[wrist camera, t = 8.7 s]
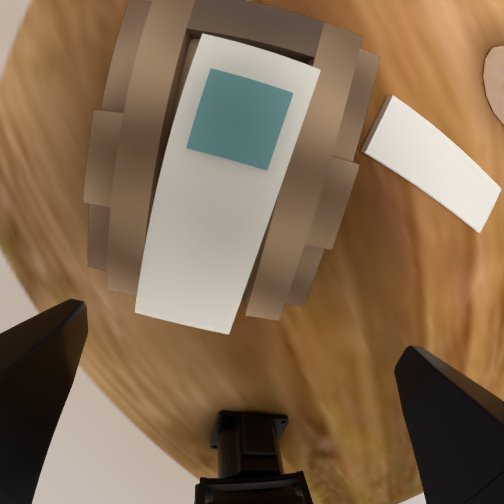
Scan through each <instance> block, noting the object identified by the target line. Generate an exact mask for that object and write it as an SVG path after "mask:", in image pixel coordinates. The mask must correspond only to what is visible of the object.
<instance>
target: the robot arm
mask: <svg viewBox="0 0 504 504" xmlns="http://www.w3.org/2000/svg"><path fill="white" fill-rule="evenodd" d="M87 334H88V320H87V307H86V303H85V302H84V301H80V300H76V299H68V300H66V301H64V302H62V303H60V304H58V305H56V306H54V307H52V308H50V309H48V310H46V311H44V312H42V313H40V314H38V315H36V316H34V317H32V318H30V319H28V320H26V321H24V322H22V323H20V324H18V325H16V326H14V327H12V328H10V329H8V330H7V331H4V332H2V333H1V334H0V504H32V501H33V497H34V494H35V489H36V487H37V483H38V480H39V476H40V473H41V470H42V467H43V464H44V460H45V457H46V454H47V451H48V448H49V446H50V443H51V440H52V437H53V434H54V431H55V428H56V426H57V423H58V420H59V418H60V415H61V413H62V410H63V407H64V405H65V402H66V400H67V397H68V394H69V392H70V389H71V387H72V384H73V381H74V378H75V374H76V371H77V367H78V364H79V361H80V357H81V354H82V351H83V347H84V344H85V341H86V338H87ZM394 373H395V378H396V382H397V387H398V392H399V396H400V401H401V406H402V411H403V415H404V419H405V422H406V426H407V429H408V433H409V436H410V440H411V443H412V447H413V451H414V454H415V458H416V462H417V466H418V470H419V474H420V478H421V482H422V486H423V491H424V495H425V499H426V504H504V401H502V400H501V399H500V398H498V397H497V396H495V395H494V394H492V393H491V392H489V391H488V390H486V389H485V388H483V387H481V386H480V385H478V384H477V383H475V382H474V381H472V380H471V379H469V378H468V377H466V376H465V375H463V374H462V373H460V372H459V371H457V370H456V369H454V368H453V367H451V366H450V365H448V364H447V363H445V362H443V361H442V360H440V359H439V358H437V357H436V356H434V355H433V354H431V353H430V352H428V351H427V350H425V349H424V348H422V347H420V346H408V347H407V348H406V349H405V351H404V352H403V354H402V356H401V357H400V359H399V361H398V362H397V364H396V366H395V370H394ZM288 422H289V420H288V417H287V416H276V415H260V414H246V413H235V412H225V411H223V412H220V413H219V414H218V417H217V421H216V424H215V428H214V431H213V434H212V438H211V441H210V448H212V449H218V478H207V477H200V483H199V484H197V485H196V486H195V502H194V504H313V502H312V499H311V495H310V492H309V489H308V486H307V483H306V480H305V476H304V473H303V471H298V472H296V473H290V474H284V471H283V465H282V459H281V453H280V446H279V438H280V436H281V435H282V433H283V431H284V429H285V428H286V426H287V424H288Z"/></svg>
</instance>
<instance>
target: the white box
mask: <svg viewBox="0 0 504 504" xmlns="http://www.w3.org/2000/svg"><path fill="white" fill-rule="evenodd" d="M320 71H321V70H320V69H317V68H315V67H312V66H310V65H307V64H304V63H302V62H299V61H296V60H293V59H290V58H288V57H285V56H282V55H279V54H276V53H273V52H270V51H266V50H263V49H260V48H257V47H253V46H250V45H246V44H243V43H239V42H236V41H232V40H228V39H224V38H220V37H216V36H211V35H207V34H203V33H202V36H201V39H200V41H199V44H198V47H197V50H196V53H195V55H194V58H193V61H192V64H191V67H190V70H189V73H188V76H187V79H186V82H185V85H184V89H183V92H182V95H181V98H180V102H179V105H178V108H177V112H176V115H175V119H174V122H173V126H172V129H171V133H170V137H169V140H168V144H167V148H166V152H165V156H164V160H163V164H162V168H161V172H160V176H159V180H158V185H157V189H156V193H155V198H154V203H153V207H152V212H151V217H150V222H149V227H148V232H147V237H146V243H145V248H144V254H143V260H142V266H141V272H140V278H139V285H138V291H137V298H136V306H135V313H139V314H142V315H146V316H150V317H154V318H158V319H162V320H166V321H170V322H174V323H179V324H183V325H187V326H191V327H196V328H200V329H205V330H209V331H214V332H219V333H223V334H228V335H229V333H230V330H231V327H232V324H233V321H234V319H235V316H236V313H237V310H238V307H239V304H240V302H241V299H242V296H243V293H244V290H245V287H246V285H247V282H248V279H249V276H250V273H251V270H252V268H253V265H254V262H255V259H256V256H257V253H258V250H259V248H260V245H261V242H262V239H263V236H264V233H265V230H266V228H267V225H268V222H269V219H270V216H271V213H272V210H273V208H274V205H275V202H276V199H277V196H278V193H279V190H280V187H281V185H282V182H283V179H284V176H285V173H286V170H287V167H288V164H289V162H290V159H291V156H292V153H293V150H294V147H295V144H296V141H297V138H298V135H299V133H300V130H301V127H302V124H303V121H304V118H305V115H306V112H307V109H308V106H309V104H310V101H311V98H312V95H313V92H314V89H315V86H316V83H317V80H318V77H319V74H320Z"/></svg>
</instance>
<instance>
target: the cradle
mask: <svg viewBox="0 0 504 504" xmlns="http://www.w3.org/2000/svg"><path fill="white" fill-rule="evenodd" d="M202 33H203V34H207V35H211V36H216V37H220V38H224V39H228V40H232V41H236V42H239V43H243V44H246V45H250V46H253V47H257V48H260V49H263V50H266V51H270V52H273V53H276V54H279V55H282V56H285V57H288V58H290V59H293V60H296V61H299V62H302V63H304V64H307V65H310V66H312V67H315V68H317V69H320V70H321V71H320V74H319V77H318V80H317V83H316V86H315V89H314V92H313V95H312V98H311V101H310V104H309V106H308V109H307V112H306V115H305V118H304V121H303V124H302V127H301V130H300V133H299V135H298V138H297V141H296V144H295V147H294V150H293V153H292V156H291V159H290V162H289V164H288V167H287V170H286V173H285V176H284V179H283V182H282V185H281V187H280V190H279V193H278V196H277V199H276V202H275V205H274V208H273V210H272V213H271V216H270V219H269V222H268V225H267V228H266V230H265V233H264V236H263V239H262V242H261V245H260V248H259V250H258V253H257V256H256V259H255V262H254V265H253V268H252V270H251V273H250V276H249V279H248V282H247V285H246V287H245V290H244V293H243V298H244V308H245V316H251V317H258V318H265V319H272V320H279V319H280V316H281V313H282V311H283V308H284V305H285V303H287V304H294V305H301V306H304V305H305V302H306V299H307V297H308V294H309V291H310V289H311V286H312V283H313V280H314V278H315V275H316V272H317V269H318V267H319V264H320V261H321V258H322V255H323V252H324V249H330V250H332V248H333V245H334V242H335V239H336V236H337V233H338V230H339V227H340V225H341V222H342V219H343V216H344V213H345V210H346V206H347V203H348V200H349V197H350V194H351V191H352V188H353V185H354V181H355V178H356V175H357V172H358V168H359V164H357V163H354V162H353V159H354V156H355V152H356V149H357V145H358V142H359V138H360V135H361V131H362V128H363V124H364V120H365V117H366V113H367V109H368V105H369V101H370V98H371V94H372V90H373V86H374V82H375V78H376V73H377V69H378V65H379V61H380V56H378V55H376V54H373V53H371V52H369V51H366V50H364V49H361V48H360V46H361V42H362V38H363V36H360V35H358V34H355V33H353V32H350V31H348V30H345V29H343V28H340V27H337V26H334V25H332V24H329V23H326V22H323V21H320V20H317V19H314V18H311V17H308V16H304V15H301V14H298V13H294V12H291V11H287V10H284V9H280V8H276V7H272V6H268V5H264V4H260V3H255V2H250V1H246V0H153V1H150V0H129V2H128V5H127V8H126V11H125V14H124V17H123V21H122V24H121V27H120V31H119V34H118V38H117V41H116V45H115V49H114V52H113V56H112V60H111V64H110V69H109V73H108V77H107V82H106V87H105V92H104V97H103V102H102V107H101V110H94V113H93V119H92V125H91V131H90V138H89V146H88V154H87V163H86V172H85V184H84V197H83V202H84V203H89V222H88V267H91V268H96V269H100V270H105V271H107V290H110V291H114V292H119V293H124V294H129V295H133V296H137V291H138V285H139V278H140V272H141V266H142V260H143V254H144V248H145V243H146V237H147V232H148V227H149V222H150V217H151V212H152V207H153V203H154V198H155V193H156V189H157V185H158V180H159V176H160V172H161V168H162V164H163V160H164V156H165V152H166V148H167V144H168V140H169V137H170V133H171V129H172V126H173V122H174V119H175V115H176V112H177V108H178V105H179V102H180V98H181V95H182V92H183V89H184V85H185V82H186V79H187V76H188V73H189V70H190V67H191V64H192V61H193V58H194V55H195V53H196V50H197V47H198V44H199V41H200V39H201V36H202Z"/></svg>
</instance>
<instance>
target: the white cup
mask: <svg viewBox="0 0 504 504" xmlns="http://www.w3.org/2000/svg"><path fill="white" fill-rule="evenodd" d="M483 79H484V85H485V91H486V96H487V99H488V101H489V103H490V106H491V108H492V110H493V113H494V114H495V115H496V116H497V118H498V119H499V120H500V121H501V122H502V123H503V124H504V45H502V46H498V47H493V48H492V49H491V51H490V52H489V54H488V55H487V57H486V58H485V64H484V72H483Z"/></svg>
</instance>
